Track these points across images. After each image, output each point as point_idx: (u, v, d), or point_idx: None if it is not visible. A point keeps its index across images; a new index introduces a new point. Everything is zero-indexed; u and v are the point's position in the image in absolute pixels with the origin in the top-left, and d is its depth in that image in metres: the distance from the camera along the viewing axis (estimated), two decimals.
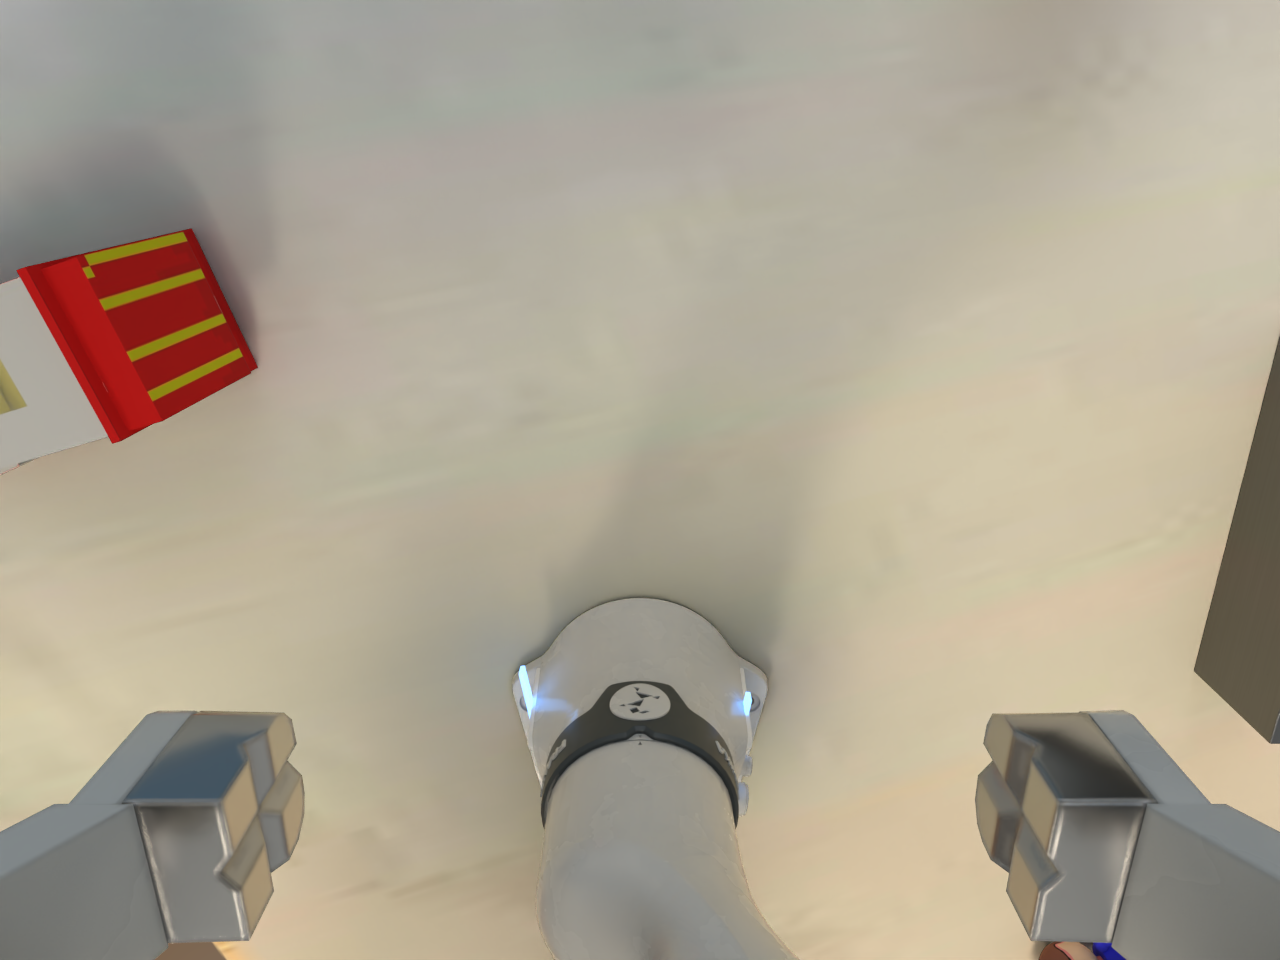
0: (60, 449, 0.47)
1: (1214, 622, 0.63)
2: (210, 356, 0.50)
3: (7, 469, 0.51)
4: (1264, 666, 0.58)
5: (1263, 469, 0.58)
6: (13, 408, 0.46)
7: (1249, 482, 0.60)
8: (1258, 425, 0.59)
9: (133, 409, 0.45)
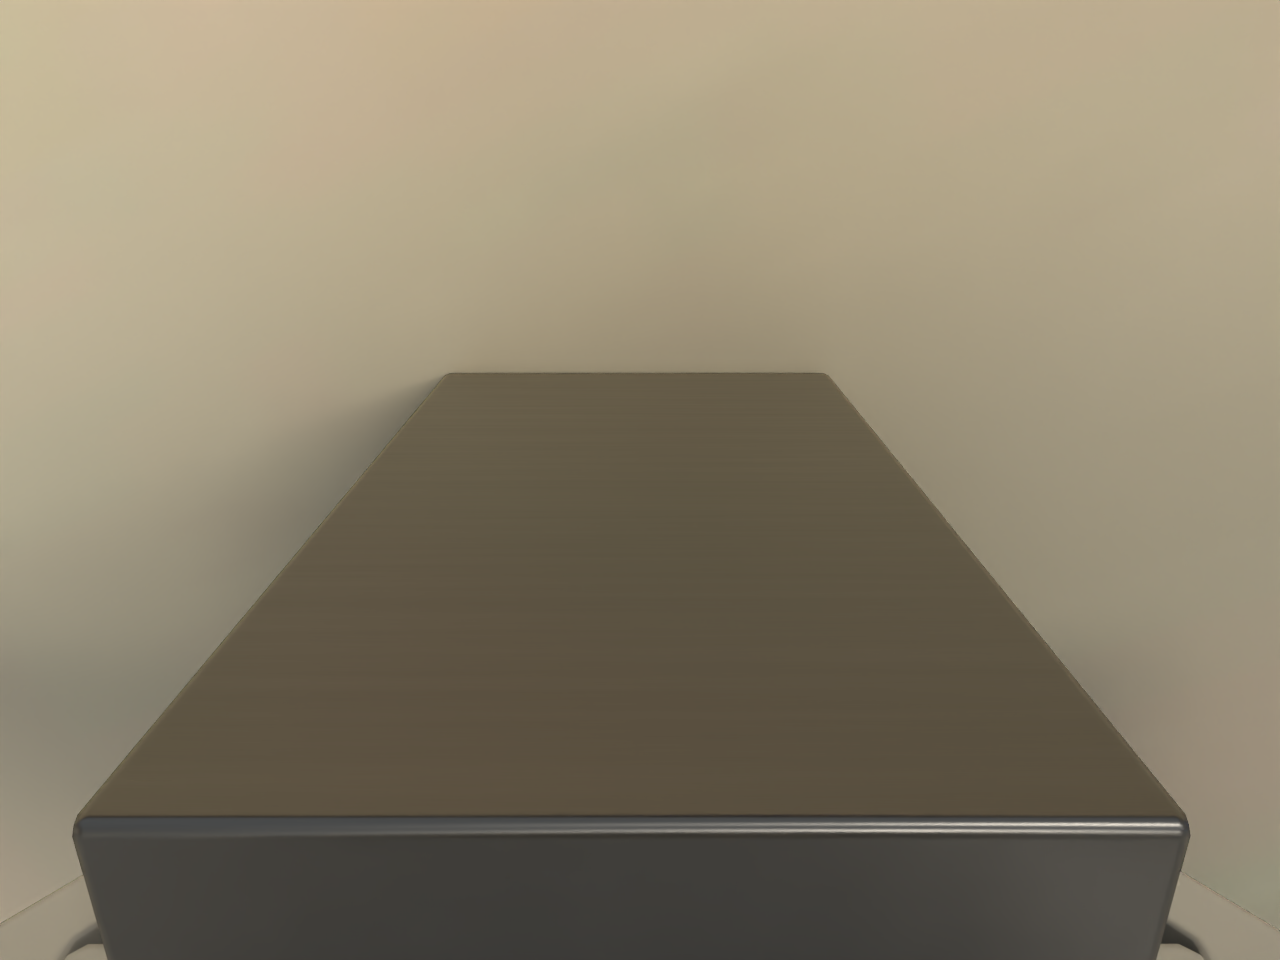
0: None
1: None
2: None
3: None
4: None
5: None
6: None
7: None
8: None
9: None
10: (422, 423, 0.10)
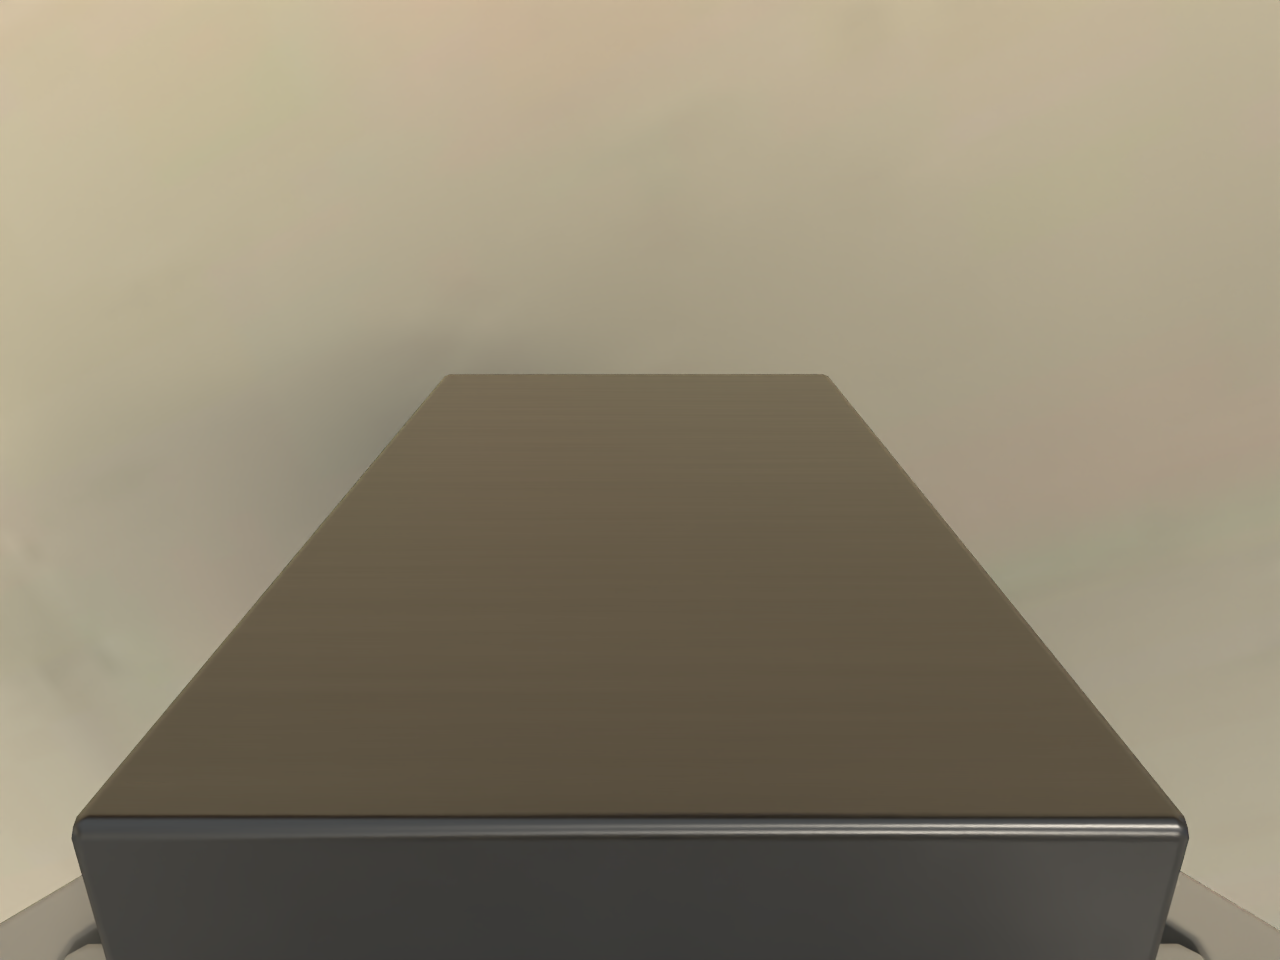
0: None
1: None
2: None
3: None
4: None
5: None
6: None
7: None
8: None
9: None
10: (422, 424, 0.10)
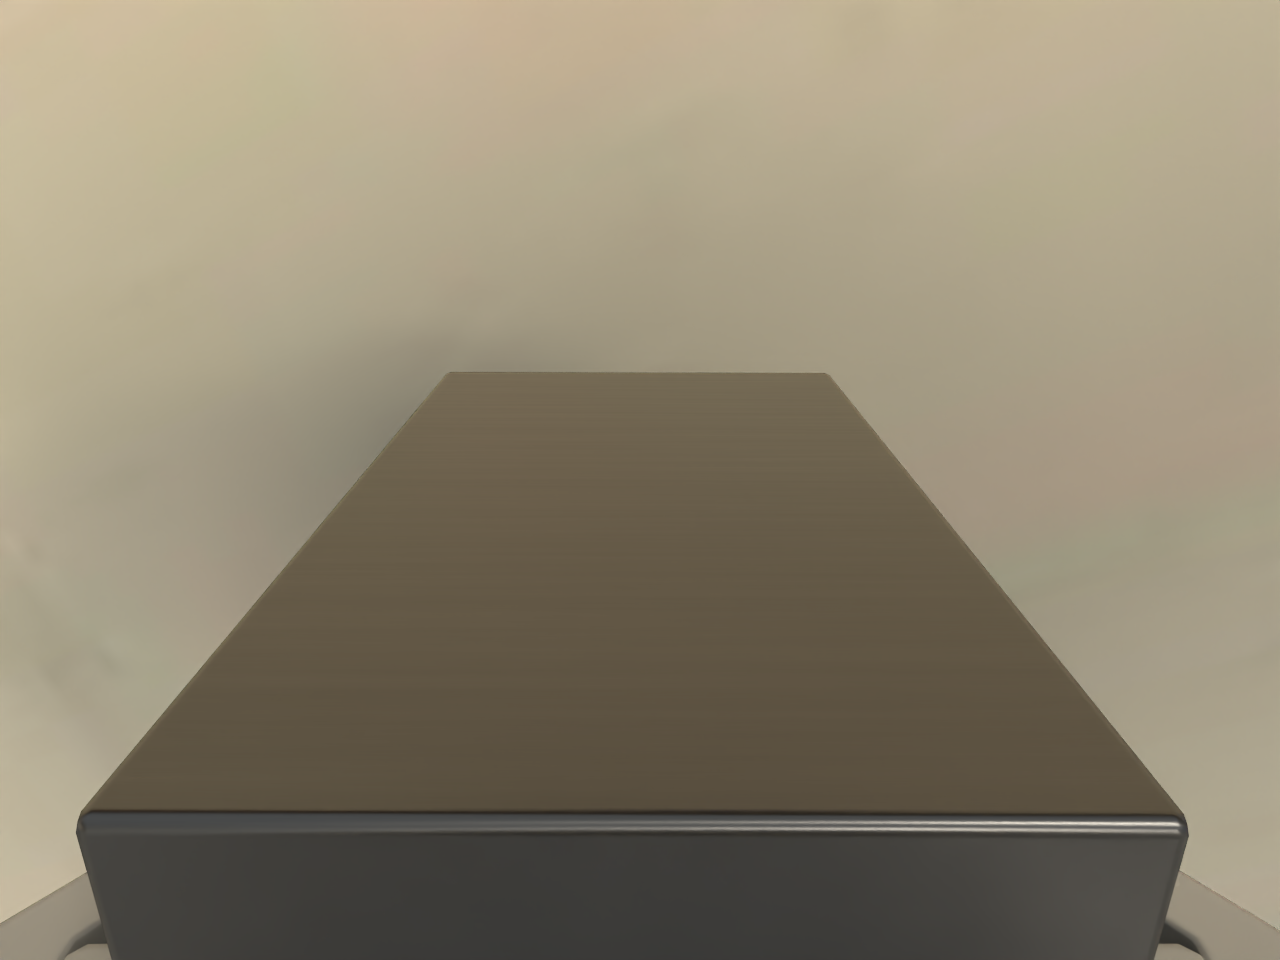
0: None
1: None
2: None
3: None
4: None
5: None
6: None
7: None
8: None
9: None
10: (423, 422, 0.10)
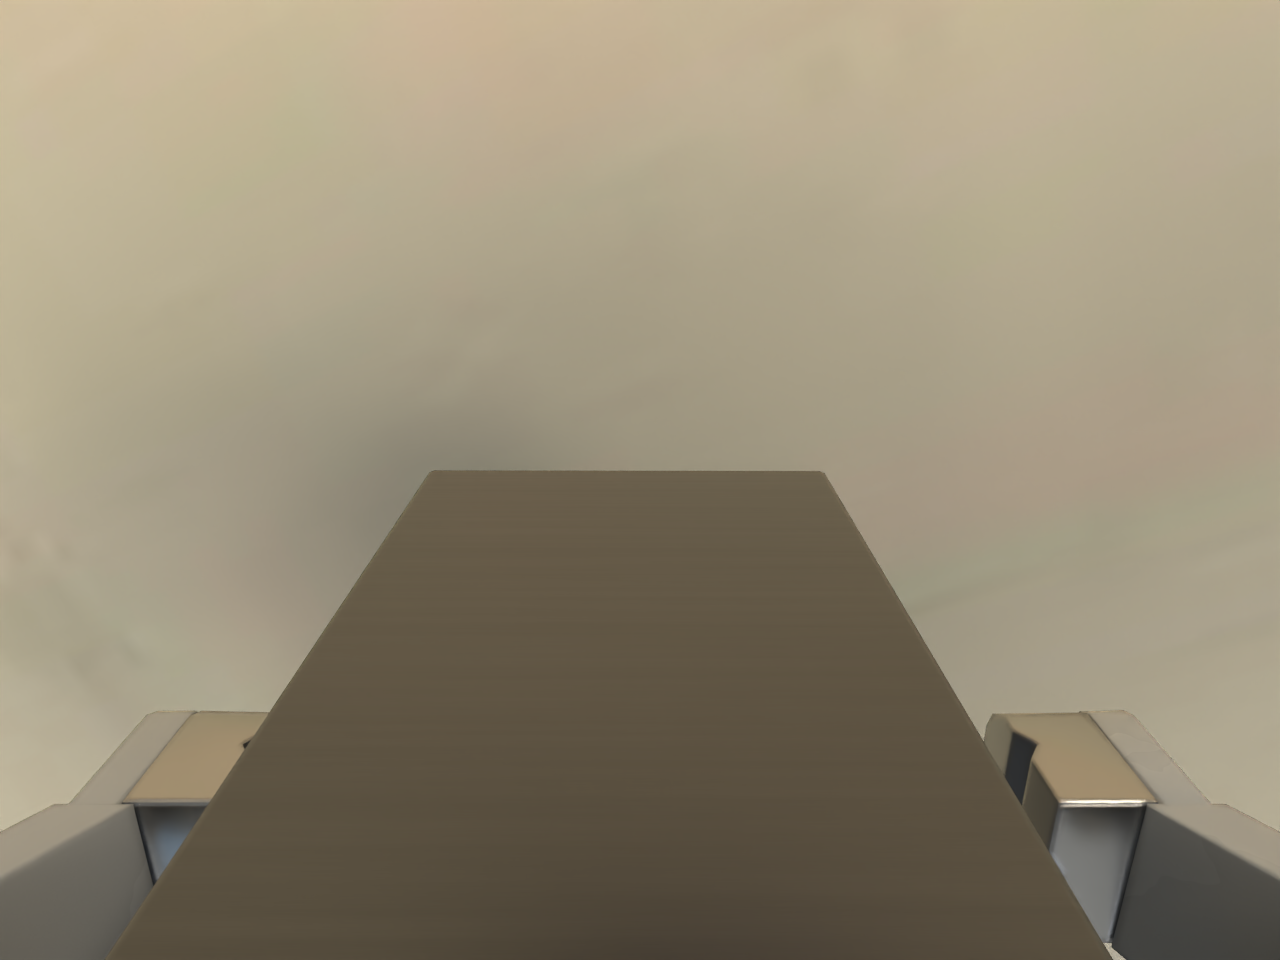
0: None
1: None
2: None
3: None
4: None
5: None
6: None
7: None
8: None
9: None
10: (402, 541, 0.09)
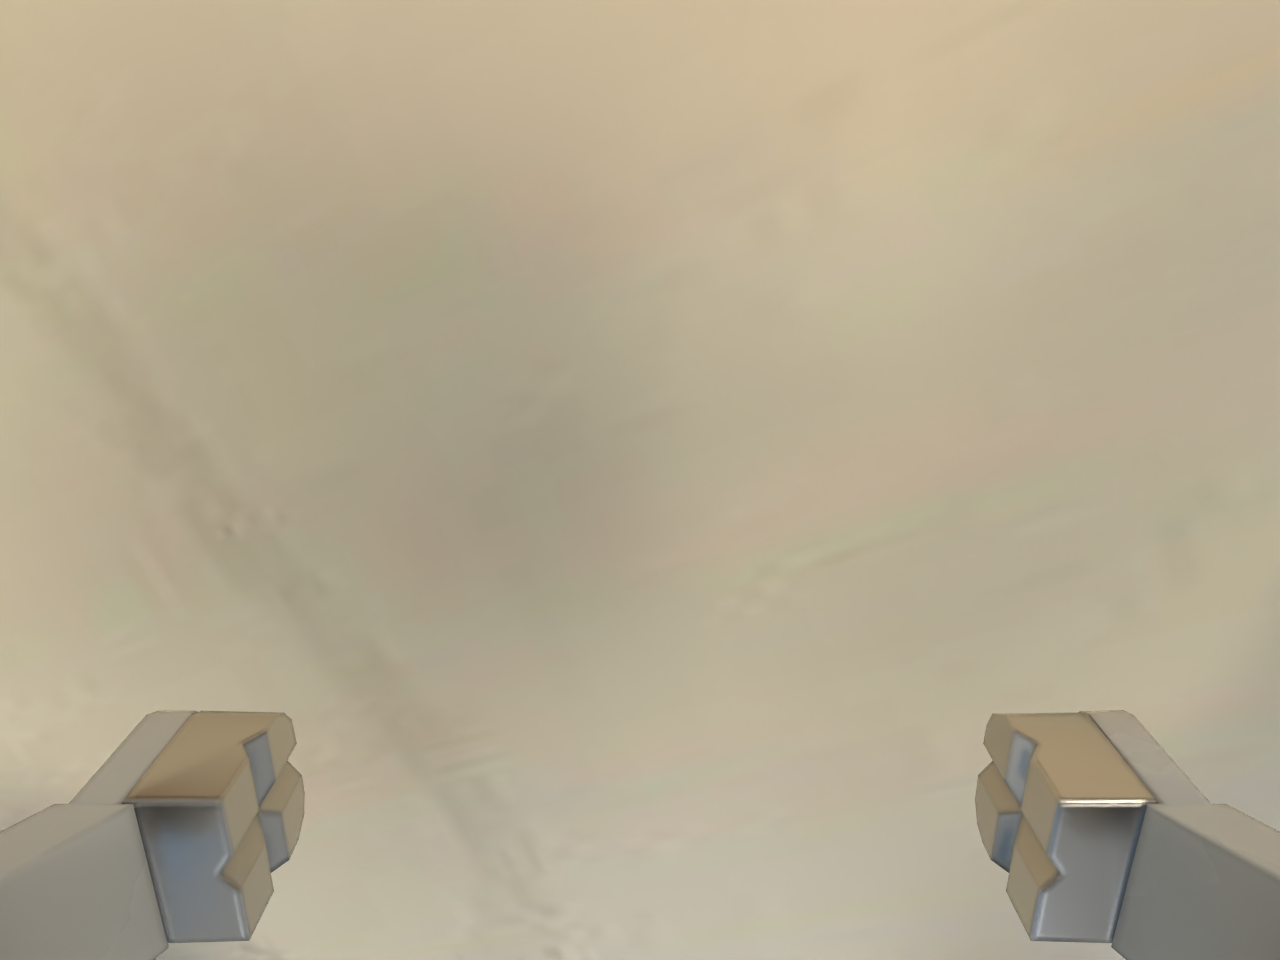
0: None
1: None
2: None
3: None
4: None
5: None
6: None
7: None
8: None
9: None
10: None
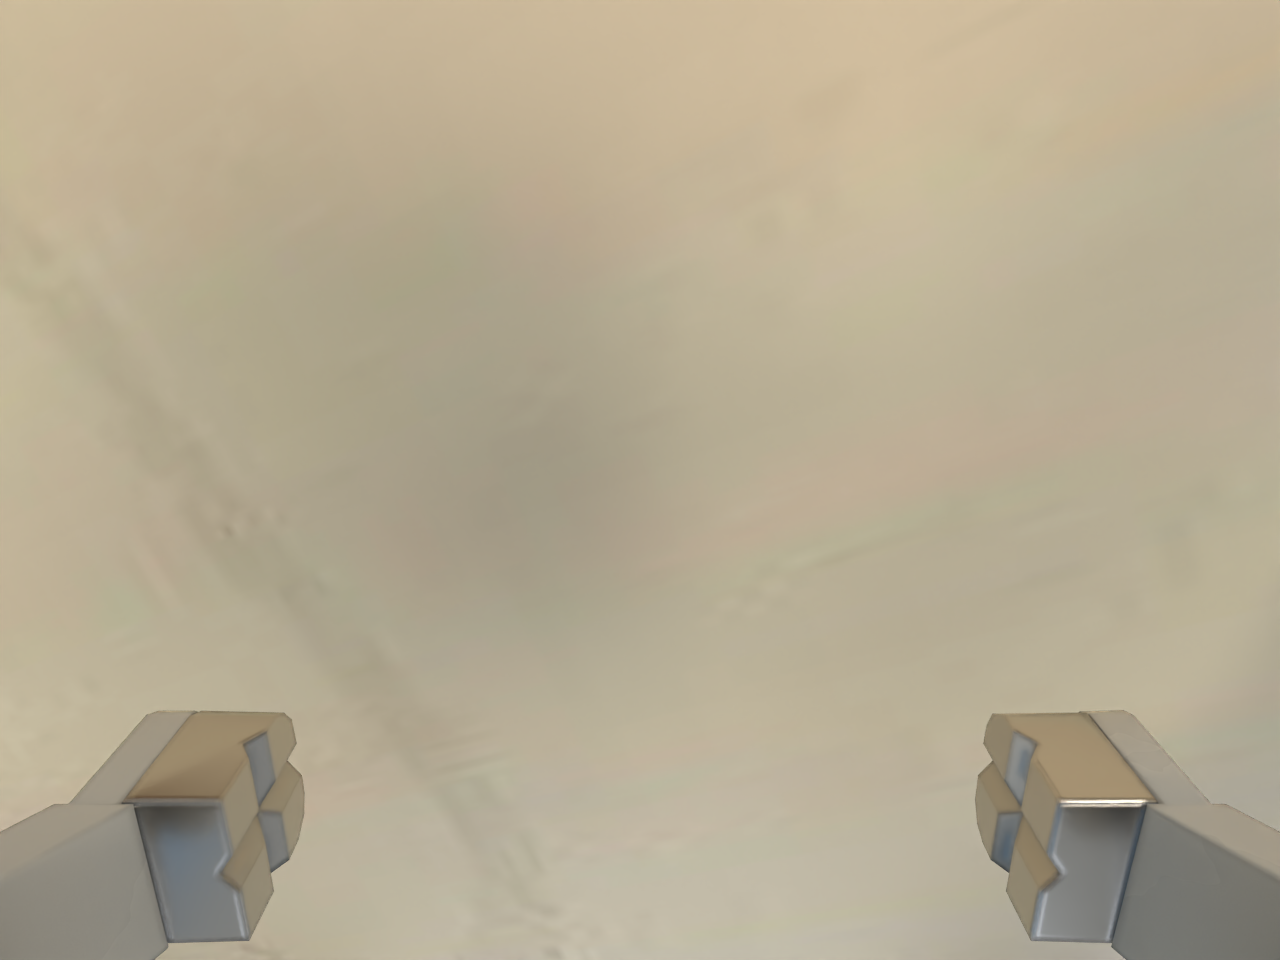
0: None
1: None
2: None
3: None
4: None
5: None
6: None
7: None
8: None
9: None
10: None
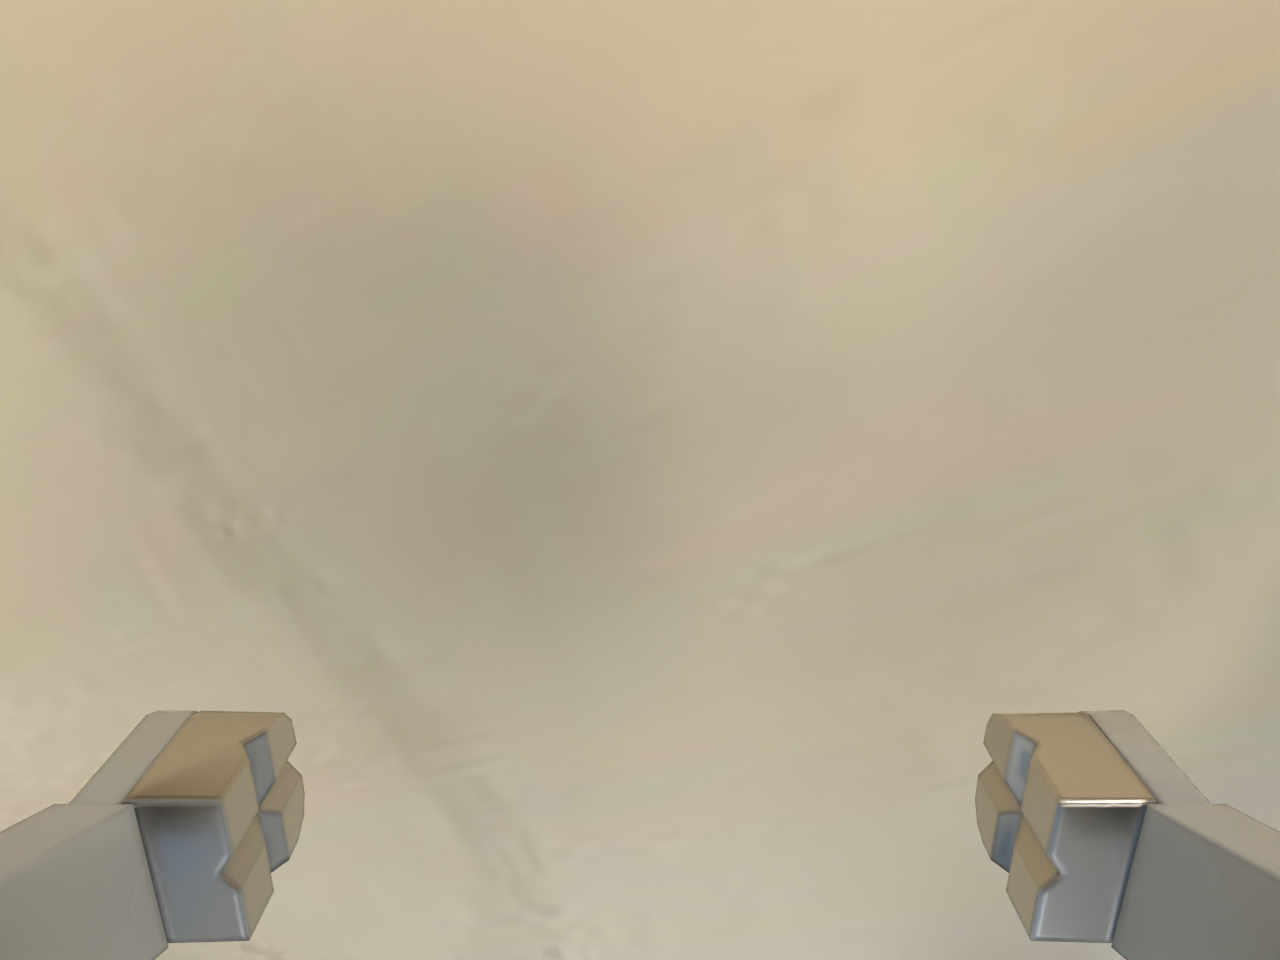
0: None
1: None
2: None
3: None
4: None
5: None
6: None
7: None
8: None
9: None
10: None
